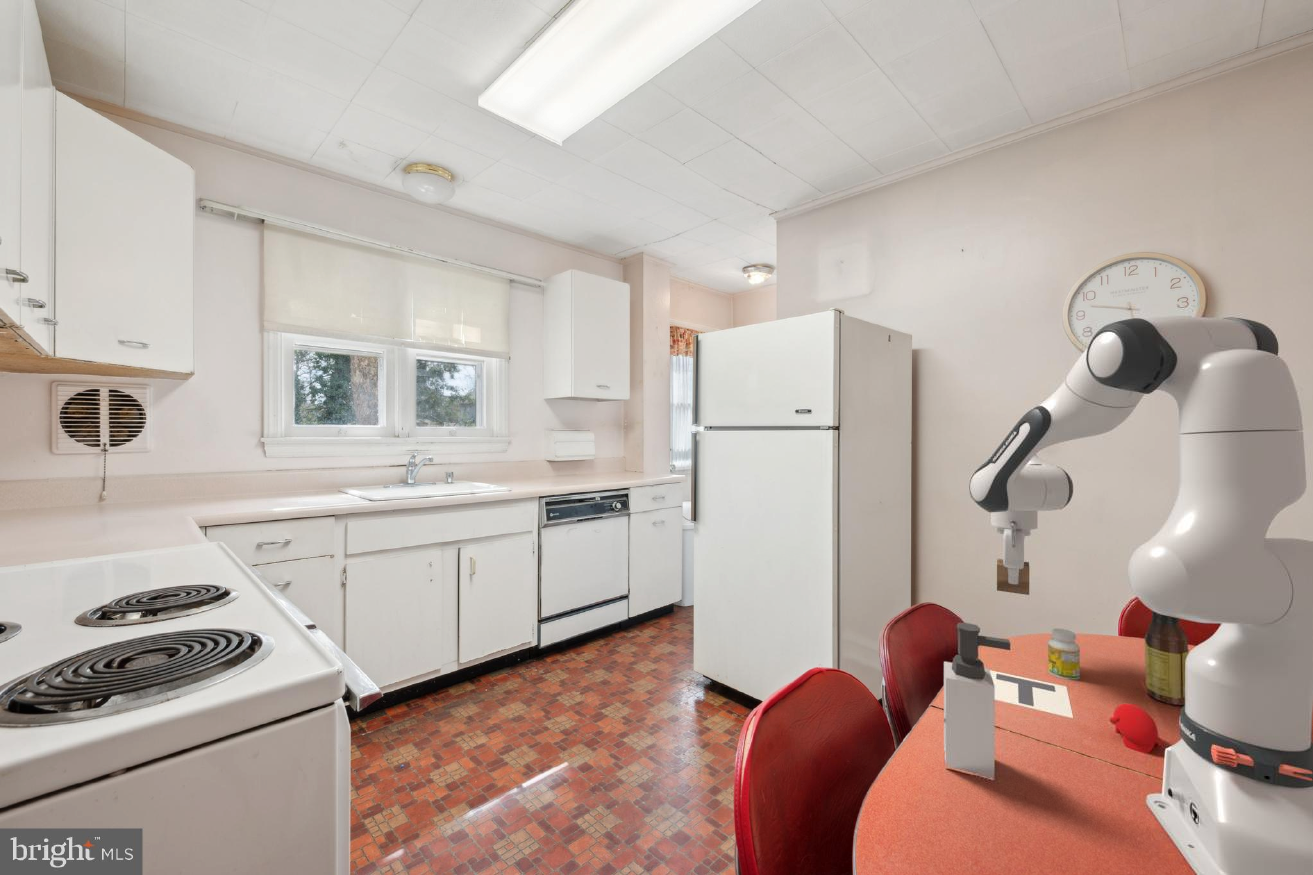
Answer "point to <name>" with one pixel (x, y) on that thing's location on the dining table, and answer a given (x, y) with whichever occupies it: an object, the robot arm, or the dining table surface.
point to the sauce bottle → (1166, 659)
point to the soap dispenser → (970, 704)
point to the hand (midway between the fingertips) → (1013, 579)
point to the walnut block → (1013, 588)
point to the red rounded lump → (1136, 728)
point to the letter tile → (1032, 693)
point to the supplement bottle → (1064, 654)
